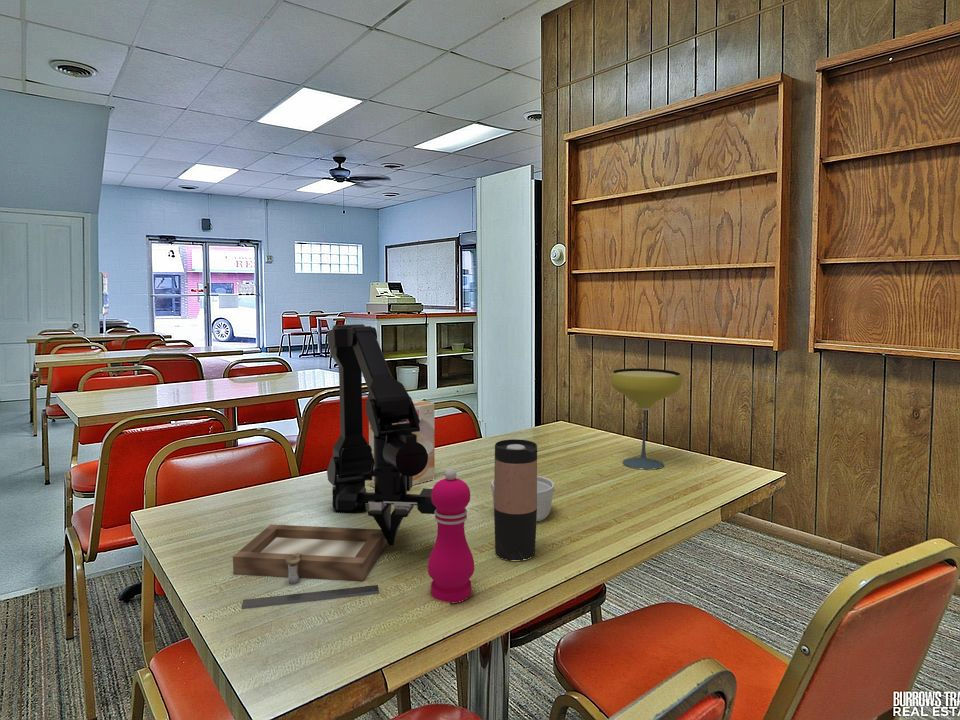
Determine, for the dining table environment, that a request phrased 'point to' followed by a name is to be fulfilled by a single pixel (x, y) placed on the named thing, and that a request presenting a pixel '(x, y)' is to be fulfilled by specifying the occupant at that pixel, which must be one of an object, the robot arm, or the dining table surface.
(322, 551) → the picture frame
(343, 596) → the strip
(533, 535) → the travel mug
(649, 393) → the cocktail glass
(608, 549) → the dining table surface
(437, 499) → the pepper mill
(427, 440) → the coffeecake box
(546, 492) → the ramekin
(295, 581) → the screw post
